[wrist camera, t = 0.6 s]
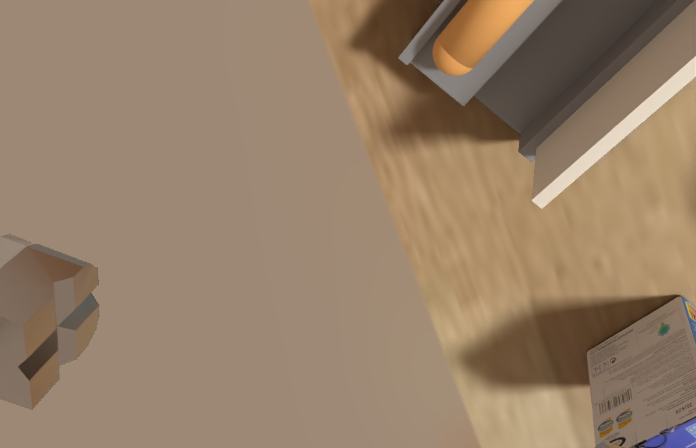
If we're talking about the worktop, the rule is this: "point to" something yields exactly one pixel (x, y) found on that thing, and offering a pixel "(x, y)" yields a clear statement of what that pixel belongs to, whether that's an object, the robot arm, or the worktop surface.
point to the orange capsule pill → (474, 33)
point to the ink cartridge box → (647, 381)
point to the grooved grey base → (546, 58)
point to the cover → (617, 107)
